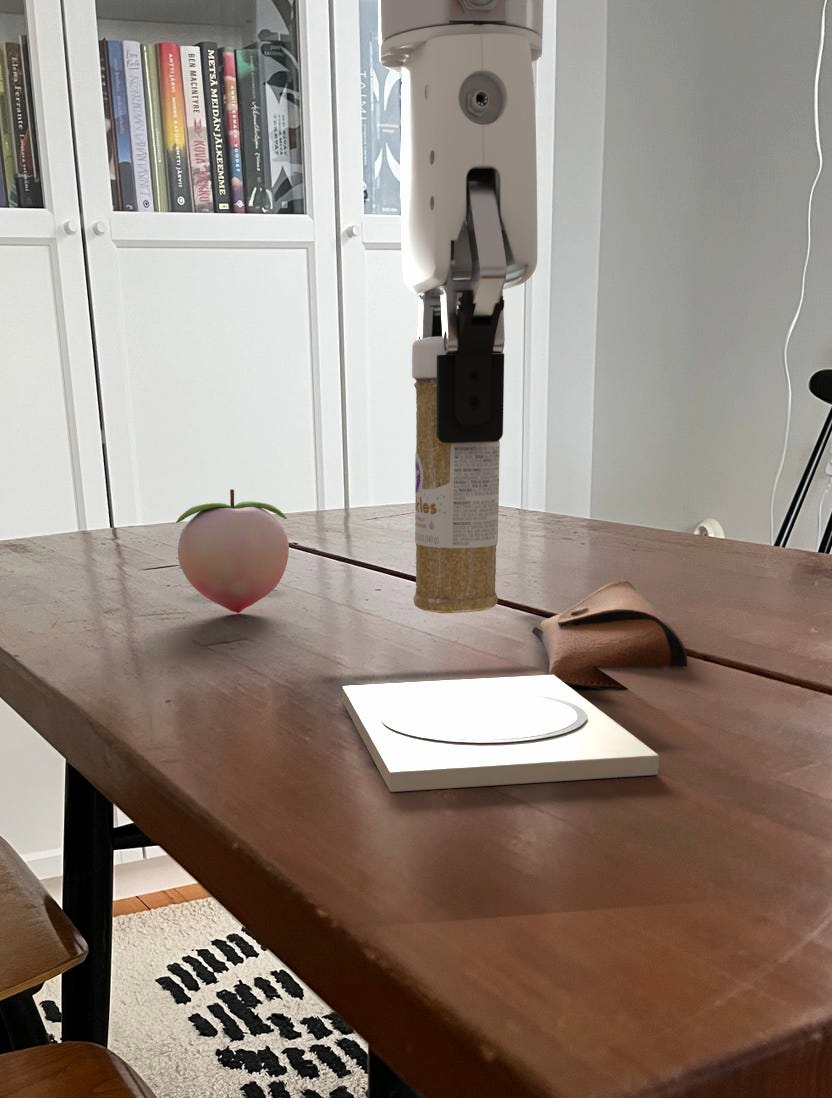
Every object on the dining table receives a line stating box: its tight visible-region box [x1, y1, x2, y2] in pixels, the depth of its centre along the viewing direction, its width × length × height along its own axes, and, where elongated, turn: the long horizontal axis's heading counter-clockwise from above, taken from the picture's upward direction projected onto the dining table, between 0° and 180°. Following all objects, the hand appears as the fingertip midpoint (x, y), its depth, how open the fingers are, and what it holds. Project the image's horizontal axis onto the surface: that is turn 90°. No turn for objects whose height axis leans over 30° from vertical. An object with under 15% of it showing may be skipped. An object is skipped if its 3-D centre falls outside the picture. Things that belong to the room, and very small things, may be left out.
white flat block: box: [341, 674, 660, 793], centre depth 68 cm, size 13×18×1 cm
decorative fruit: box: [176, 488, 290, 614], centre depth 104 cm, size 9×8×10 cm
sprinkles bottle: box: [411, 336, 504, 614], centre depth 65 cm, size 5×5×14 cm
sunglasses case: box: [531, 579, 688, 690], centre depth 84 cm, size 18×7×7 cm
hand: (458, 435), depth 64 cm, fingers closed on sprinkles bottle, 4 cm apart
